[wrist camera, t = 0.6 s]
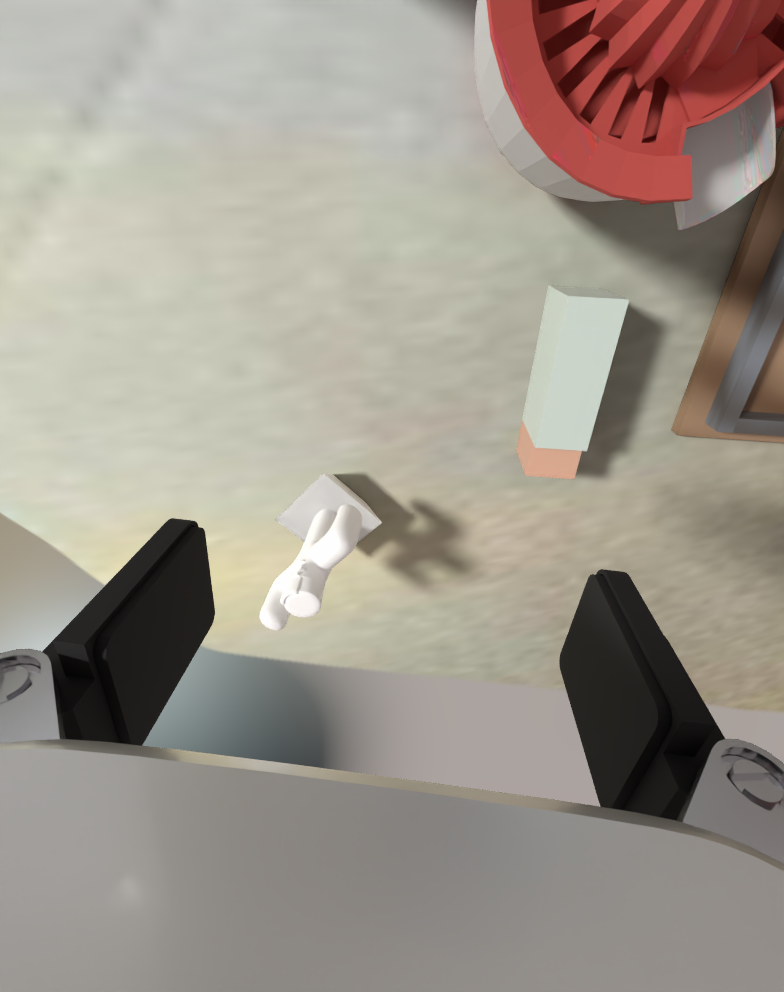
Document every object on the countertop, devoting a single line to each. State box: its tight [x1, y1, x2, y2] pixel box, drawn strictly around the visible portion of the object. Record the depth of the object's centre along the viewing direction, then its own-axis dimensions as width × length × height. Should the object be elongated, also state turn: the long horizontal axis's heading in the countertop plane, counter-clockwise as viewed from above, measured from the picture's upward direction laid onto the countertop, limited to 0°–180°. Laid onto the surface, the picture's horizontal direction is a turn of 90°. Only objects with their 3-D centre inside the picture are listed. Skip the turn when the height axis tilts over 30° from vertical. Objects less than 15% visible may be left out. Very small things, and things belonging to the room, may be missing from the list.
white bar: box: [516, 285, 629, 479], centre depth 37 cm, size 14×4×6 cm, turn 177°
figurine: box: [260, 473, 382, 630], centre depth 41 cm, size 7×9×15 cm
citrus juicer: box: [474, 0, 784, 230], centre depth 22 cm, size 16×17×20 cm
